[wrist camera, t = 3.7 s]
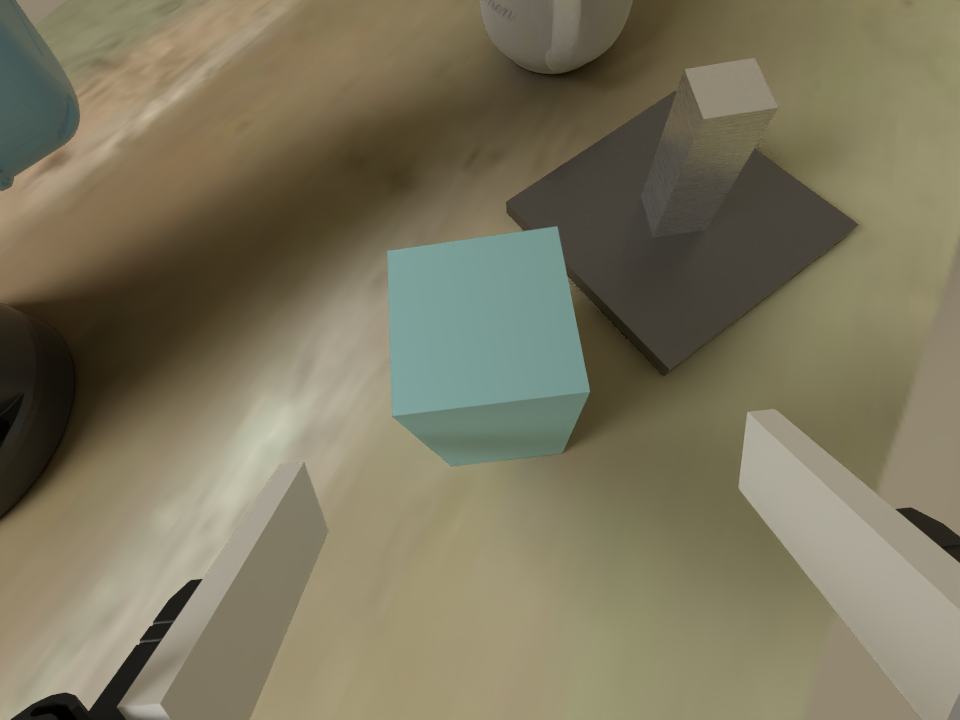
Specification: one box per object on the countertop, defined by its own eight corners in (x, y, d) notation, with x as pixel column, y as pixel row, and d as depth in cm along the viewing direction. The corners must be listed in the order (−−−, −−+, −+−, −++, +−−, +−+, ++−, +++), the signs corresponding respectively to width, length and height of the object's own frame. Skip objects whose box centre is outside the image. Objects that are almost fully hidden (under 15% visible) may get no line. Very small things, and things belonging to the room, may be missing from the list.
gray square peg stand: (506, 212, 29) (498, 82, 20) (670, 104, 31) (724, -56, 22) (664, 375, 24) (737, 292, 16) (846, 235, 26) (999, 94, 17)
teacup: (499, -4, 37) (492, -141, 29) (636, 0, 35) (666, -144, 27) (460, 123, 32) (440, -1, 25) (615, 136, 30) (645, 7, 23)
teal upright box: (451, 466, 23) (391, 416, 13) (443, 363, 25) (387, 250, 15) (562, 453, 23) (590, 391, 13) (545, 350, 25) (557, 226, 15)
